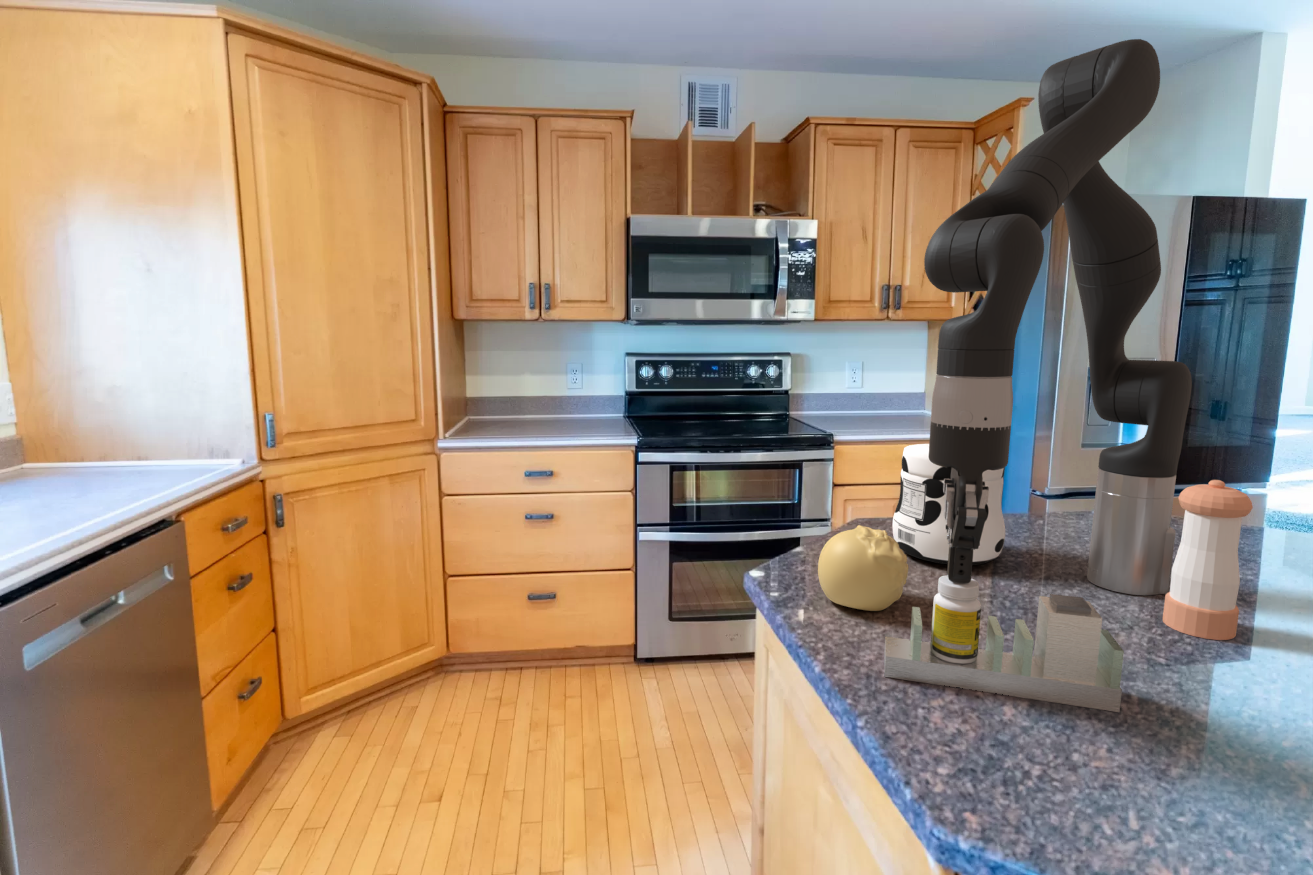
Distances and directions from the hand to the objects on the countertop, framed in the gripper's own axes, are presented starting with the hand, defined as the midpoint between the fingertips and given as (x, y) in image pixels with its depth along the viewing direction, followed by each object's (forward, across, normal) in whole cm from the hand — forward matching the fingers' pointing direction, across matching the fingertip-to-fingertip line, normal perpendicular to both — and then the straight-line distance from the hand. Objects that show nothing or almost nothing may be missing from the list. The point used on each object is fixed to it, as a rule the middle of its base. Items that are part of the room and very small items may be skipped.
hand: (958, 580), depth 71 cm
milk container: (+11, +43, -3) cm, 45 cm away
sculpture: (+11, +18, +10) cm, 23 cm away
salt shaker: (+11, +23, -31) cm, 40 cm away
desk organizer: (+11, 0, -4) cm, 12 cm away
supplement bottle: (+9, 0, 0) cm, 9 cm away
